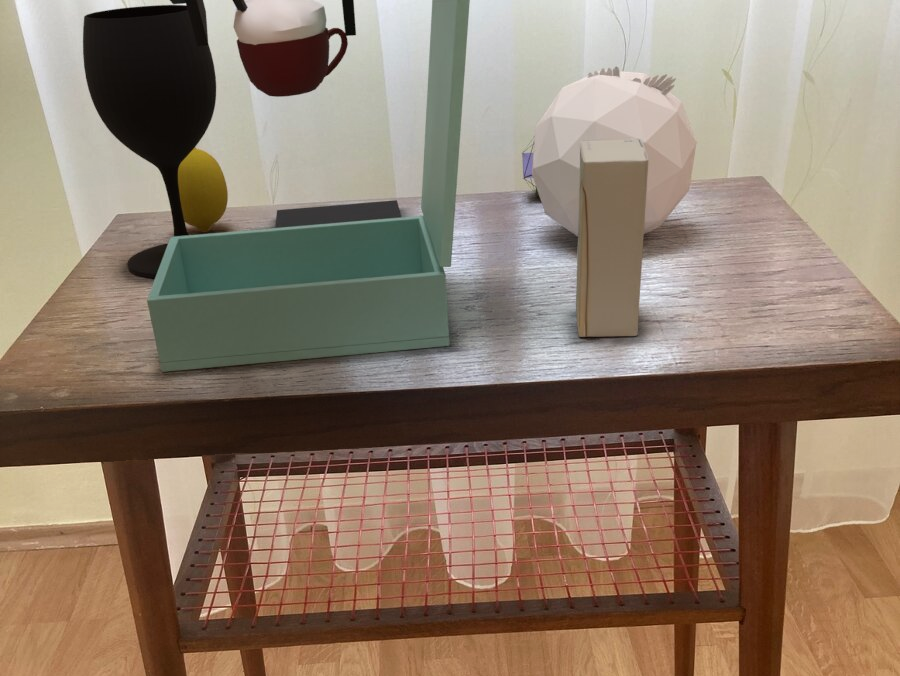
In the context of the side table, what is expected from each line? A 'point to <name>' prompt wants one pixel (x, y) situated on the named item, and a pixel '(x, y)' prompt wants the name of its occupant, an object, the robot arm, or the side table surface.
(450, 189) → the lid
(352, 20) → the robot arm
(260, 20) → the cocoa
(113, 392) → the side table surface
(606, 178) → the cosmetic box
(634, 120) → the geodesic sphere
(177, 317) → the teal open box
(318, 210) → the mat
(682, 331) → the side table surface
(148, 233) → the side table surface
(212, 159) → the lemon
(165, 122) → the wine glass
